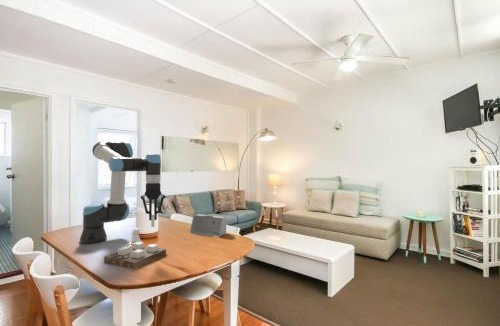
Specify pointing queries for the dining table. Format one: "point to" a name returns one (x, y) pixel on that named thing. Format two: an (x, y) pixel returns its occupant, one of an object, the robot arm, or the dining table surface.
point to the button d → (152, 248)
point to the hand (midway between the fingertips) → (152, 226)
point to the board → (134, 262)
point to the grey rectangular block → (208, 225)
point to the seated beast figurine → (134, 237)
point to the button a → (123, 251)
